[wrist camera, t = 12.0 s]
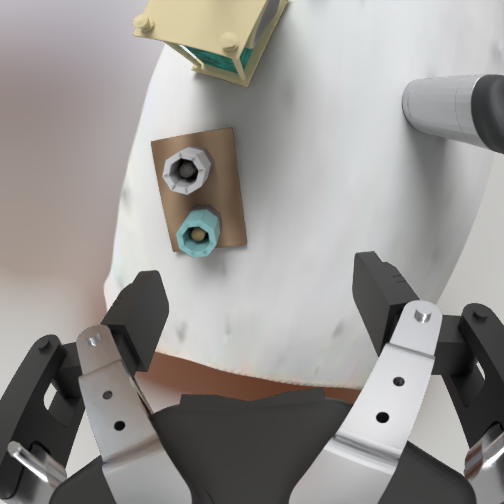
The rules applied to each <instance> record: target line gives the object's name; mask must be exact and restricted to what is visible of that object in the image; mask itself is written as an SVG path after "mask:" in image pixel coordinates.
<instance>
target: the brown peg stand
mask: <svg viewBox="0 0 504 504" xmlns="http://www.w3.org/2000/svg"><path fill="white" fill-rule="evenodd" d="M190 145H194V146H198V147H202V148H206V149H207V151H208V152H209V154H210V156H211V157H212V159H213V161H214V163H213V167H212V171H211V175H210V177H209V178H208V179H207V180H206V181H205V182H204V184H203V185H202V186H201V187H200V188H198V189H196V190H194V191H193V192H191V193H189V194H188V195H186V194H182V193H178V192H174V191H172V190H170V188H169V186H168V185H167V183H166V182H165V180H164V178H163V171H164V166H165V161H166V160H167V159H169V158H170V157H172V156H173V155H175V154H176V153H178V152H179V151H181V150H183V149H185V148H186V147H188V146H190ZM151 147H152V153H153V158H154V164H155V169H156V175H157V180H158V185H159V190H160V195H161V200H162V205H163V209H164V214H165V218H166V223H167V227H168V232H169V236H170V240H171V244H172V249H173V252H177V251H182V250H181V249H180V248H179V245H178V241H177V236H176V233H177V232H178V230H179V228H180V227H181V225H182V224H183V221H184V219H185V218H186V216H187V215H188V214H189V212H190V211H191V209H192V208H193V207H194V206H199V205H207V204H209V205H210V206H211V207H213V208H214V209H215V210H217V211H218V212H220V214H221V220H222V230H221V233H220V234H219V238H218V241H217V245H216V246H215V247H214V248H219V247H229V246H240V245H246V244H247V239H246V231H245V223H244V216H243V208H242V200H241V192H240V184H239V176H238V168H237V160H236V152H235V144H234V136H233V128H226V129H218V130H212V131H205V132H199V133H193V134H187V135H181V136H176V137H170V138H165V139H160V140H156V141H152V142H151ZM198 172H199V171H198V169H197V167H196V166H195V164H194V162H193V161H191V160H187V159H183V161H182V166H181V167H180V174H181V176H183V177H185V178H188V177H190V176H193V177H197V176H198ZM206 233H208V232H206V231H205V230H204V229H202V228H201V227H199V226H197V227H194V229H193V231H192V238H193V239H194V240H196V241H201V240H202V239H203V238H204V236H205V234H206Z"/></svg>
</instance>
